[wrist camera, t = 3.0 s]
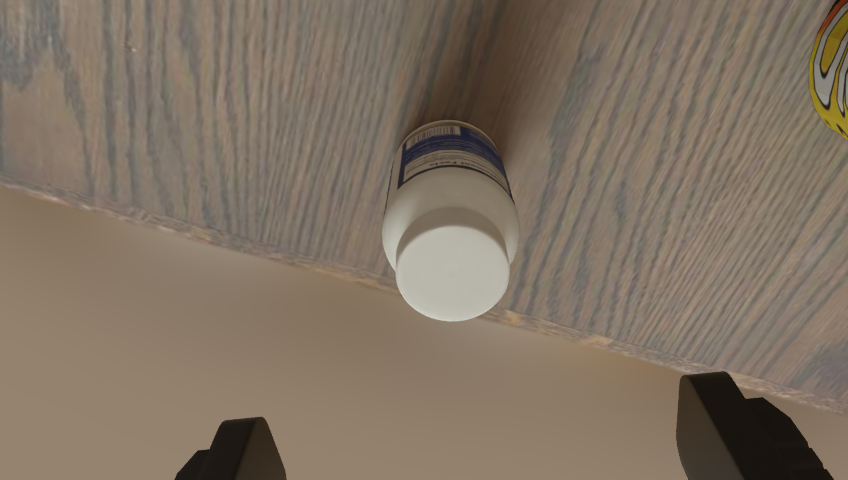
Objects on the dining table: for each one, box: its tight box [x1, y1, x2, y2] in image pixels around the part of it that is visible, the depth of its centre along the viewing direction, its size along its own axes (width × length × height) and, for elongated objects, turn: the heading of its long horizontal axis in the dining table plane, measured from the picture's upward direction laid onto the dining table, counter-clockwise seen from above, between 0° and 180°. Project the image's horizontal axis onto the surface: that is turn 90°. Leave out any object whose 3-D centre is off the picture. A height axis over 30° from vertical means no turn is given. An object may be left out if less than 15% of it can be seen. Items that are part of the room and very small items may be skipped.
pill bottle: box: [382, 120, 520, 321], centre depth 25 cm, size 5×5×10 cm
